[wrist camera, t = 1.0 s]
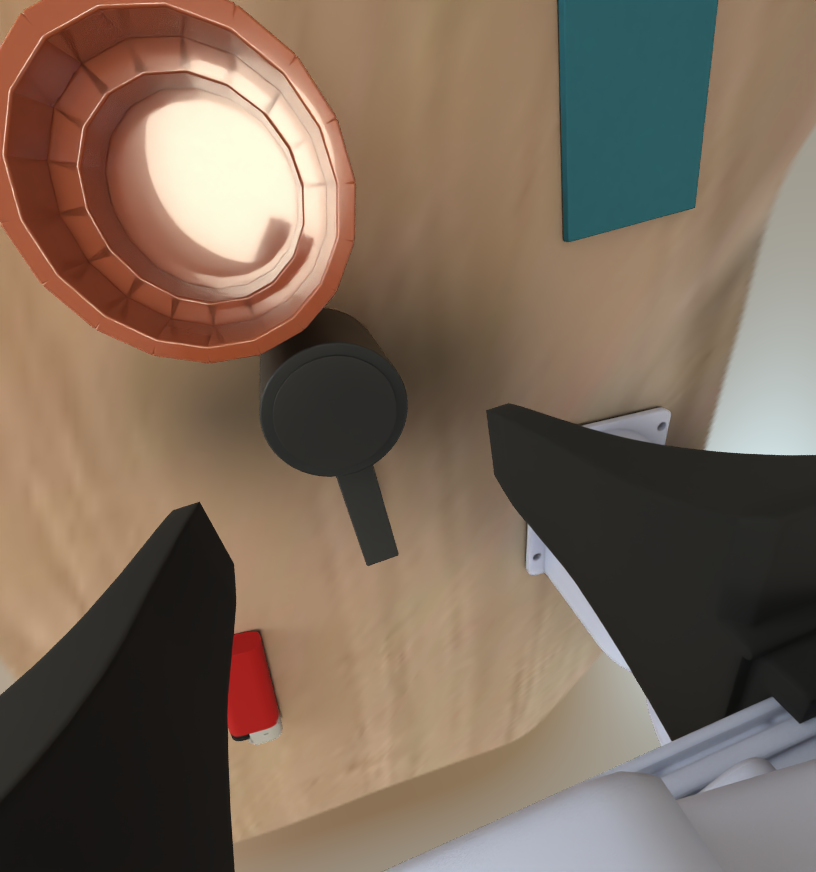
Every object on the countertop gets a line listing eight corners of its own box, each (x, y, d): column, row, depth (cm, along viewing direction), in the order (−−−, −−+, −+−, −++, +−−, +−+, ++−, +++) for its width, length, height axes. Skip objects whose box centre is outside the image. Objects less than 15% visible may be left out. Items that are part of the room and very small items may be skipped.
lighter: (261, 648, 24) (283, 738, 27) (261, 628, 25) (283, 717, 29) (202, 662, 23) (233, 752, 27) (204, 641, 24) (234, 730, 28)
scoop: (241, 327, 17) (234, 368, 14) (363, 294, 18) (391, 324, 14) (317, 521, 22) (329, 593, 19) (411, 489, 23) (442, 552, 19)
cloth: (563, 241, 19) (568, 242, 19) (556, -58, 15) (563, -65, 14) (688, 207, 20) (695, 207, 20) (718, -87, 16) (729, -93, 15)
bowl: (349, 299, 18) (376, 334, 14) (125, 335, 17) (78, 387, 12) (308, 33, 14) (327, -32, 10) (9, 48, 13) (-120, -21, 8)
